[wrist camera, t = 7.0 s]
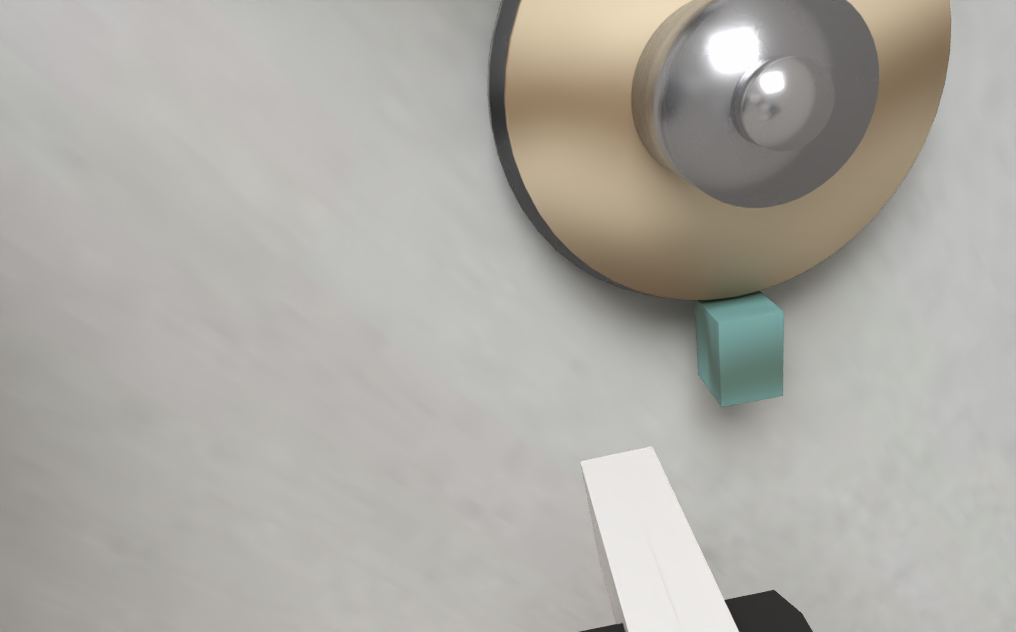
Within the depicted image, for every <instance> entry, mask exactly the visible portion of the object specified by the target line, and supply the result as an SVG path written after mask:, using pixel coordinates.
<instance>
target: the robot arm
mask: <svg viewBox="0 0 1016 632" xmlns="http://www.w3.org/2000/svg"><path fill="white" fill-rule="evenodd" d="M580 462H581V467H582V473H583V478H584V483H585V488H586V493H587V498H588V504H589V509H590V514H591V519H592V524H593V529H594V535H595V540H596V545H597V550H598V555H599V560H600V564H601V568H602V572H603V575H604V579H605V583H606V587H607V590H608V594H609V598H610V602H611V606H612V609H613V613H614V617H615V621H616V624H615V625H610V626H605V627H600V628H595V629H590V630H586V631H581V632H813V631H812V630H811V628H810V626H809V625H808V623H807V621H806V619H805V618H804V616H803V614H802V613H801V612H800V611H799V610H797V609H796V608H795V607H794V606H793V605H791V604H790V603H789V602H788V601H787V600H785V599H784V598H783V597H782V596H781V595H779V594H778V593H777V592H776V591H775V590H771V591H766V592H762V593H757V594H752V595H747V596H742V597H737V598H732V599H727V600H724V599H723V597H722V594H721V592H720V590H719V588H718V586H717V584H716V582H715V579H714V577H713V575H712V573H711V571H710V569H709V567H708V564H707V562H706V560H705V558H704V556H703V554H702V552H701V550H700V547H699V545H698V543H697V541H696V539H695V537H694V535H693V532H692V530H691V528H690V526H689V524H688V522H687V520H686V518H685V515H684V513H683V511H682V509H681V507H680V505H679V503H678V500H677V498H676V496H675V494H674V492H673V490H672V488H671V486H670V483H669V481H668V479H667V477H666V475H665V473H664V471H663V468H662V466H661V464H660V462H659V460H658V458H657V456H656V454H655V451H654V449H653V447H652V446H651V447H646V448H642V449H637V450H632V451H627V452H623V453H618V454H613V455H608V456H604V457H599V458H594V459H589V460H585V461H580Z"/></svg>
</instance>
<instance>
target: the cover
mask: <svg viewBox="0 0 1016 632" xmlns="http://www.w3.org/2000/svg"><path fill="white" fill-rule="evenodd" d="M878 88H879V62H878V54H877V50H876V46H875V43H874V39H873V37H872V35H871V32H870V30H869V28H868V26H867V24H866V22H865V21H864V19H863V18H862V16H861V15H860V13H859V12H858V11H857V10H856V9H855V8H854V7H853V5H852V4H850V3H849V2H848V1H847V0H692V1H690V2H688V3H687V4H685V5H683V6H681V7H680V8H679V9H677V10H676V11H675V12H673V13H672V14H671V15H670V16H669V17H667V18H666V19H665V20H664V21H663V22H662V23H661V24H660V26H659V27H658V28H657V29H656V30H655V32H654V33H653V34H652V36H651V37H650V39H649V40H648V42H647V43H646V45H645V47H644V49H643V51H642V53H641V55H640V57H639V60H638V63H637V66H636V69H635V72H634V77H633V81H632V90H631V108H632V115H633V120H634V124H635V127H636V131H637V133H638V135H639V138H640V140H641V142H642V143H643V145H644V147H645V148H646V150H647V151H648V152H649V153H650V155H651V156H652V157H653V158H654V159H655V160H656V161H657V162H658V163H659V164H660V165H662V166H663V167H665V168H666V169H668V170H669V171H671V172H672V173H674V174H675V175H677V176H679V177H680V178H682V179H683V180H685V181H687V182H688V183H690V184H691V185H693V186H695V187H696V188H698V189H699V190H701V191H702V192H704V193H706V194H707V195H709V196H710V197H712V198H714V199H716V200H719V201H721V202H723V203H726V204H730V205H733V206H738V207H745V208H765V207H773V206H777V205H781V204H785V203H788V202H791V201H793V200H796V199H799V198H801V197H803V196H805V195H806V194H808V193H810V192H812V191H814V190H815V189H817V188H818V187H820V186H821V185H823V184H824V183H825V182H826V181H828V180H829V179H830V178H831V177H832V176H834V175H835V174H836V173H837V172H838V171H839V170H840V168H841V167H842V166H843V165H844V164H845V163H846V162H847V161H848V159H849V158H850V157H851V156H852V154H853V153H854V152H855V150H856V148H857V147H858V145H859V144H860V142H861V140H862V139H863V137H864V135H865V132H866V130H867V128H868V126H869V124H870V121H871V118H872V116H873V113H874V109H875V105H876V101H877V96H878Z"/></svg>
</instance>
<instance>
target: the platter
mask: <svg viewBox="0 0 1016 632" xmlns="http://www.w3.org/2000/svg"><path fill="white" fill-rule="evenodd" d="M690 1H692V0H520V2H519V4H518V7H517V10H516V14H515V18H514V21H513V25H512V28H511V32H510V36H509V41H508V47H507V54H506V61H505V67H504V108H505V118H506V128H507V132H508V136H509V141H510V145H511V150H512V154H513V157H514V159H515V162H516V165H517V168H518V170H519V173H520V176H521V178H522V181H523V183H524V185H525V187H526V189H527V191H528V193H529V195H530V197H531V199H532V201H533V203H534V204H535V206H536V208H537V210H538V212H539V213H540V215H541V216H542V218H543V219H544V220H545V222H546V223H547V225H548V226H549V227H550V229H551V230H552V232H553V233H554V234H555V235H556V236H557V237H558V238H559V239H560V241H561V242H562V243H563V244H564V245H565V246H566V247H567V248H568V249H569V250H570V251H571V252H572V253H573V254H574V255H576V256H577V257H578V258H579V259H581V260H582V261H583V262H585V263H586V264H587V265H588V266H590V267H591V268H592V269H594V270H596V271H597V272H599V273H601V274H602V275H604V276H606V277H608V278H609V279H611V280H613V281H615V282H617V283H620V284H622V285H624V286H627V287H629V288H632V289H634V290H637V291H640V292H644V293H648V294H652V295H655V296H659V297H666V298H674V299H682V300H695V319H696V339H697V358H698V375H699V376H700V378H701V379H702V380H703V382H704V383H705V385H706V386H707V387H708V389H709V390H710V392H711V393H712V394H713V396H714V397H715V399H716V400H717V401H718V403H719V404H720V406H721V407H725V406H730V405H736V404H741V403H747V402H752V401H758V400H763V399H769V398H774V397H780V396H783V335H784V311H783V310H782V309H780V308H779V307H778V306H777V305H776V304H774V303H773V302H772V301H771V300H770V299H769V298H767V297H766V296H765V295H764V294H763V293H761V292H760V291H761V290H763V289H766V288H769V287H771V286H774V285H777V284H780V283H782V282H785V281H787V280H789V279H791V278H793V277H795V276H797V275H799V274H801V273H803V272H805V271H807V270H809V269H811V268H812V267H814V266H815V265H817V264H818V263H820V262H822V261H823V260H825V259H826V258H828V257H829V256H831V255H832V254H834V253H835V252H836V251H837V250H839V249H840V248H841V247H842V246H844V245H845V244H846V243H847V242H849V241H850V240H851V239H852V238H854V237H855V236H856V235H857V234H858V233H859V232H860V231H861V230H862V229H863V228H864V227H865V226H866V225H867V224H868V223H869V222H870V221H871V220H872V219H873V218H874V217H875V216H876V215H877V214H878V213H879V211H880V210H881V209H882V208H883V206H884V205H885V204H886V203H887V202H888V200H889V199H890V198H891V197H892V196H893V194H894V193H895V192H896V190H897V189H898V187H899V186H900V184H901V183H902V181H903V180H904V178H905V177H906V175H907V174H908V172H909V171H910V169H911V167H912V165H913V164H914V162H915V160H916V158H917V156H918V154H919V152H920V150H921V148H922V147H923V145H924V143H925V141H926V138H927V136H928V133H929V131H930V128H931V126H932V123H933V121H934V118H935V116H936V113H937V109H938V106H939V102H940V99H941V95H942V92H943V88H944V85H945V79H946V73H947V67H948V61H949V55H950V38H951V12H950V0H847V1H848V2H849V3H850V4H852V5H853V7H854V8H855V9H856V10H857V11H858V12H859V13H860V15H861V16H862V18H863V19H864V21H865V22H866V24H867V26H868V28H869V30H870V32H871V35H872V37H873V39H874V43H875V46H876V50H877V54H878V62H879V88H878V96H877V101H876V105H875V109H874V113H873V116H872V118H871V121H870V124H869V126H868V128H867V130H866V132H865V135H864V137H863V139H862V140H861V142H860V144H859V145H858V147H857V148H856V150H855V152H854V153H853V154H852V156H851V157H850V158H849V159H848V161H847V162H846V163H845V164H844V165H843V166H842V167H841V168H840V170H839V171H838V172H837V173H836V174H835V175H834V176H832V177H831V178H830V179H829V180H828V181H826V182H825V183H824V184H823V185H821V186H820V187H818V188H817V189H815V190H814V191H812V192H810V193H808V194H806V195H805V196H803V197H801V198H799V199H796V200H793V201H791V202H788V203H785V204H781V205H777V206H773V207H765V208H745V207H738V206H733V205H730V204H726V203H723V202H721V201H719V200H716V199H714V198H712V197H710V196H709V195H707V194H706V193H704V192H702V191H701V190H699V189H698V188H696V187H695V186H693V185H691V184H690V183H688V182H687V181H685V180H683V179H682V178H680V177H679V176H677V175H675V174H674V173H672V172H671V171H669V170H668V169H666V168H665V167H663V166H662V165H660V164H659V163H658V162H657V161H656V160H655V159H654V158H653V157H652V156H651V155H650V153H649V152H648V151H647V150H646V148H645V147H644V145H643V143H642V142H641V140H640V138H639V135H638V133H637V131H636V127H635V124H634V120H633V115H632V108H631V90H632V81H633V77H634V72H635V69H636V66H637V63H638V60H639V57H640V55H641V53H642V51H643V49H644V47H645V45H646V43H647V42H648V40H649V39H650V37H651V36H652V34H653V33H654V32H655V30H656V29H657V28H658V27H659V26H660V24H661V23H662V22H663V21H664V20H665V19H666V18H667V17H669V16H670V15H671V14H672V13H673V12H675V11H676V10H677V9H679V8H680V7H681V6H683V5H685V4H687V3H688V2H690Z"/></svg>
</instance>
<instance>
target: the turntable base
mask: <svg viewBox="0 0 1016 632" xmlns="http://www.w3.org/2000/svg"><path fill="white" fill-rule="evenodd" d="M519 2H520V0H502V1H501V4H500V7H499V11H498V15H497V19H496V22H495V26H494V30H493V34H492V40H491V47H490V54H489V62H488V94H487V95H488V105H489V114H490V123H491V128H492V132H493V137H494V141H495V145H496V149H497V153H498V156H499V159H500V161H501V164H502V167H503V169H504V172H505V174H506V177H507V180H508V182H509V185H510V187H511V189H512V191H513V192H514V194H515V196H516V198H517V200H518V202H519V204H520V205H521V207H522V209H523V211H524V212H525V213H526V215H527V216H528V217H529V219H530V220H531V222H532V223H533V224H534V226H535V227H536V228H537V230H538V231H539V232H540V233H541V234H542V235H543V236H544V237H545V238H546V239H547V241H548V242H549V243H550V244H551V245H552V246H553V247H554V248H555V249H556V250H557V251H559V252H560V253H561V254H562V255H564V256H565V257H566V258H567V259H569V260H570V261H571V262H573V263H574V264H575V265H576V266H578V267H580V268H581V269H583V270H585V271H587V272H588V273H590V274H592V275H593V276H595V277H597V278H599V279H601V280H603V281H606V282H608V283H611V284H613V285H615V286H618V287H620V288H624V289H627V290H631V291H635V292H639V293H642V294H647V295H652V294H648V293H644V292H640V291H637V290H634V289H632V288H629V287H627V286H624V285H622V284H620V283H617V282H615V281H613V280H611V279H609V278H608V277H606V276H604V275H602V274H601V273H599V272H597V271H596V270H594V269H592V268H591V267H590V266H588V265H587V264H586V263H585V262H583V261H582V260H581V259H579V258H578V257H577V256H576V255H574V254H573V253H572V252H571V251H570V250H569V249H568V248H567V247H566V246H565V245H564V244H563V243H562V242H561V241H560V239H559V238H558V237H557V236H556V235H555V234H554V233H553V232H552V230H551V229H550V227H549V226H548V225H547V223H546V222H545V220H544V219H543V218H542V216H541V215H540V213H539V212H538V210H537V208H536V206H535V204H534V203H533V201H532V199H531V197H530V195H529V193H528V191H527V189H526V187H525V185H524V183H523V181H522V178H521V176H520V173H519V170H518V168H517V165H516V162H515V159H514V157H513V154H512V150H511V145H510V141H509V136H508V132H507V128H506V118H505V108H504V67H505V61H506V54H507V47H508V41H509V36H510V32H511V28H512V25H513V21H514V18H515V14H516V10H517V7H518V4H519Z"/></svg>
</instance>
